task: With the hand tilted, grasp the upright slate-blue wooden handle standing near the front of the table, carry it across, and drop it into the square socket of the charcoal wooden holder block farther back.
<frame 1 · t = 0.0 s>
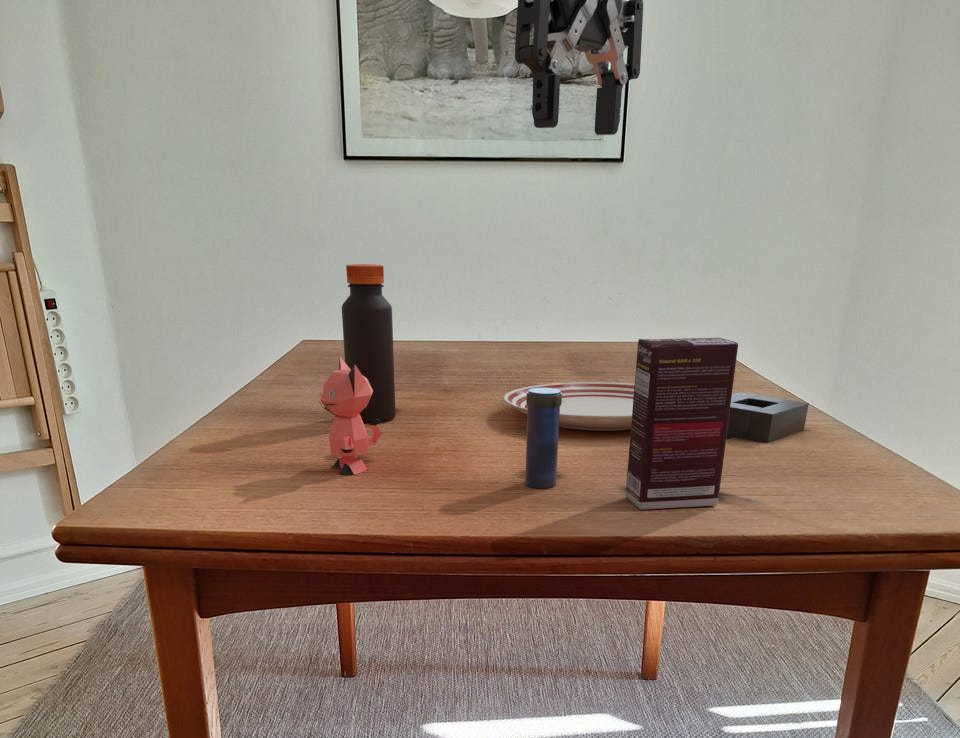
hand: (576, 131, 75), 33 cm above the table, tool pointing down, fingers open, 8 cm apart
dinner plate: (597, 419, 122), on the table
supplement box: (669, 503, 87), on the table
cat figurine: (353, 469, 97), on the table
bottle: (372, 419, 120), on the table
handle: (540, 484, 92), on the table
holder: (750, 436, 112), on the table
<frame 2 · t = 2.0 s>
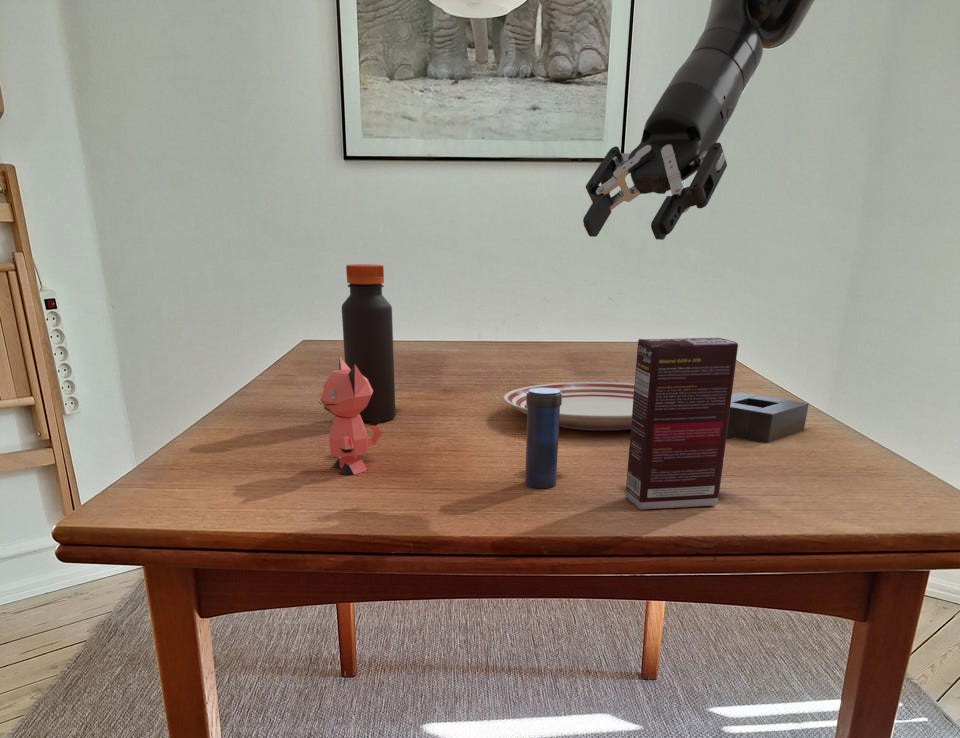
hand: (621, 232, 88), 25 cm above the table, tool tilted 45°, fingers open, 8 cm apart
nothing on the table moved.
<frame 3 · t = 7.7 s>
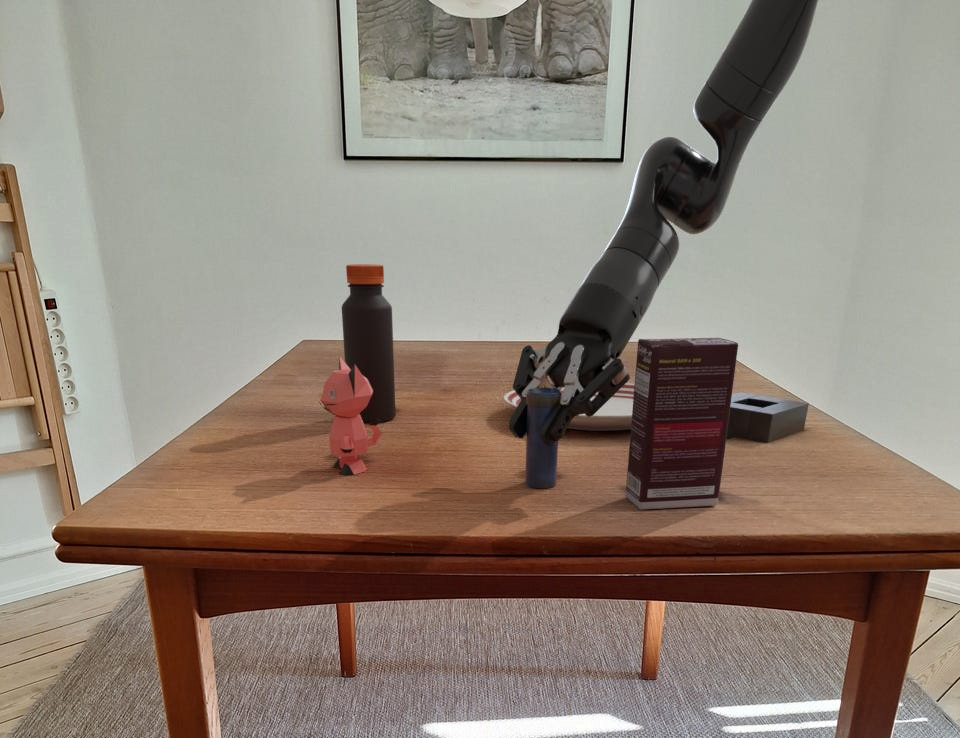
hand: (530, 436, 88), 6 cm above the table, tool tilted 45°, fingers closed on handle, 3 cm apart
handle: (540, 484, 92), on the table, touching gripper
everything else where it was.
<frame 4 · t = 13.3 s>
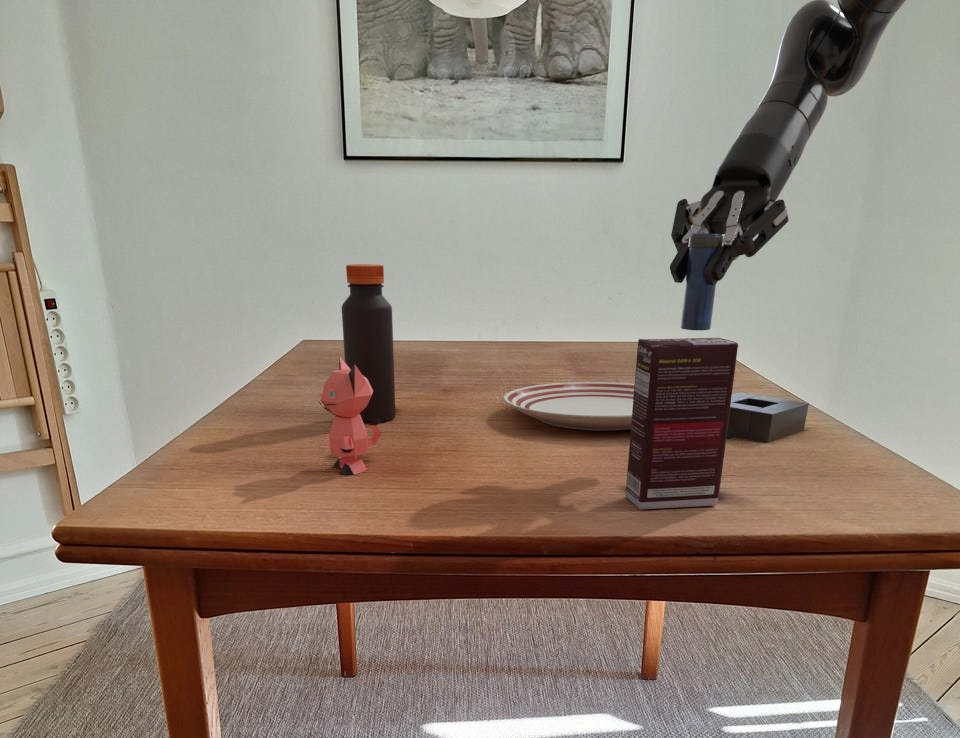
hand: (692, 278, 94), 20 cm above the table, tool tilted 45°, fingers closed on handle, 3 cm apart
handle: (695, 328, 98), point 15 cm above the table, touching gripper
everything else where it was.
when the fingers open (7 cm above the table, at t = 19.0 s): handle drops 2 cm, resting in holder.
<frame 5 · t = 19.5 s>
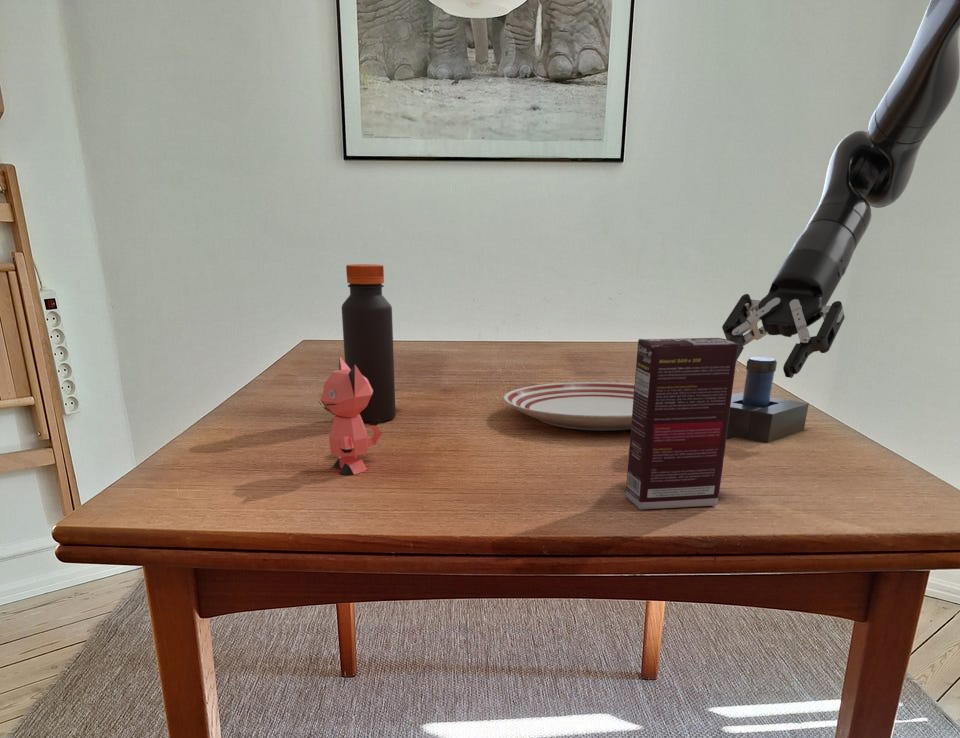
hand: (756, 369, 107), 9 cm above the table, tool tilted 45°, fingers open, 8 cm apart
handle: (750, 436, 112), resting in holder
everything else where it was.
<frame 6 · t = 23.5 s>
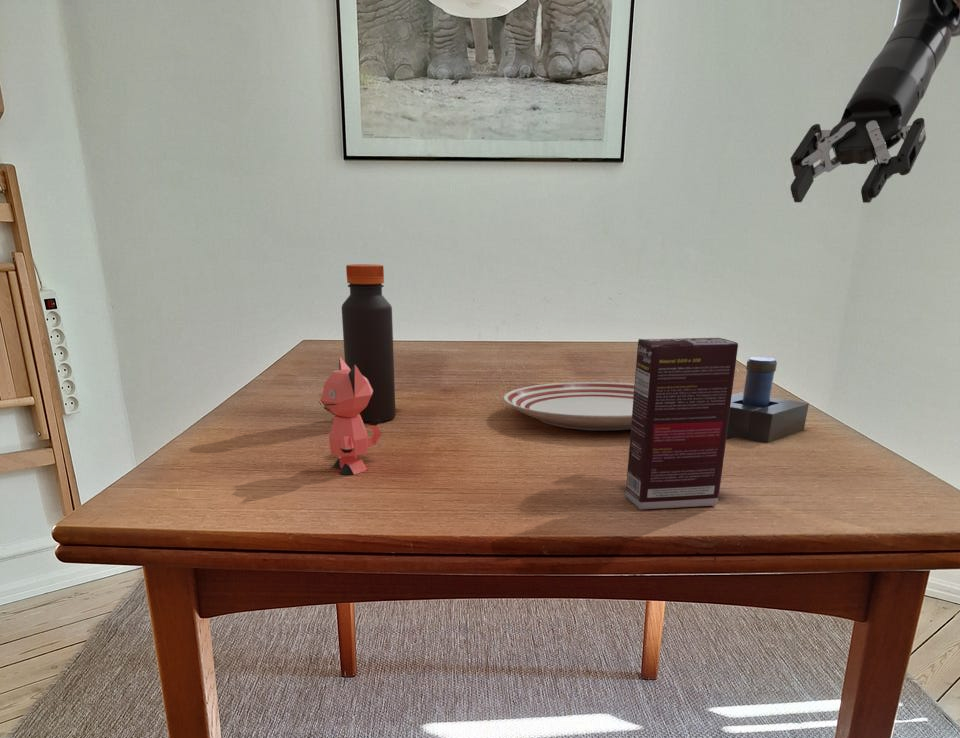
hand: (829, 197, 100), 28 cm above the table, tool tilted 45°, fingers open, 8 cm apart
nothing on the table moved.
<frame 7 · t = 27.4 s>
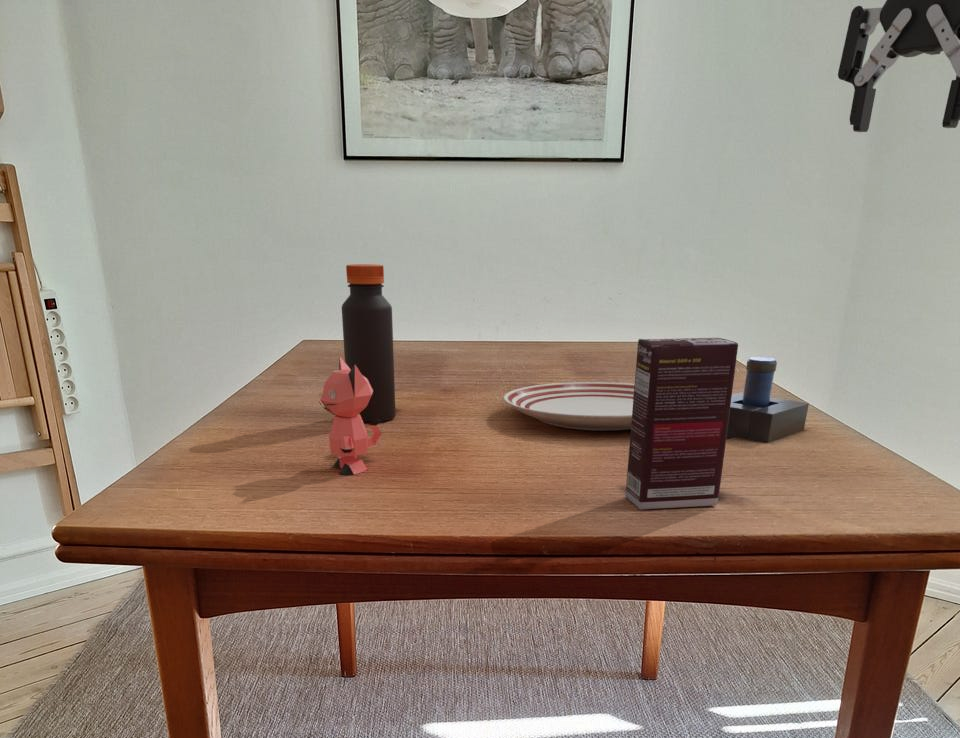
hand: (903, 129, 82), 34 cm above the table, tool pointing down, fingers open, 8 cm apart
nothing on the table moved.
at the end: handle 0.1 cm off-centre in the holder, point 0.0 cm above the holder's base; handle tilted 0°; the gripper is holding nothing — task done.
